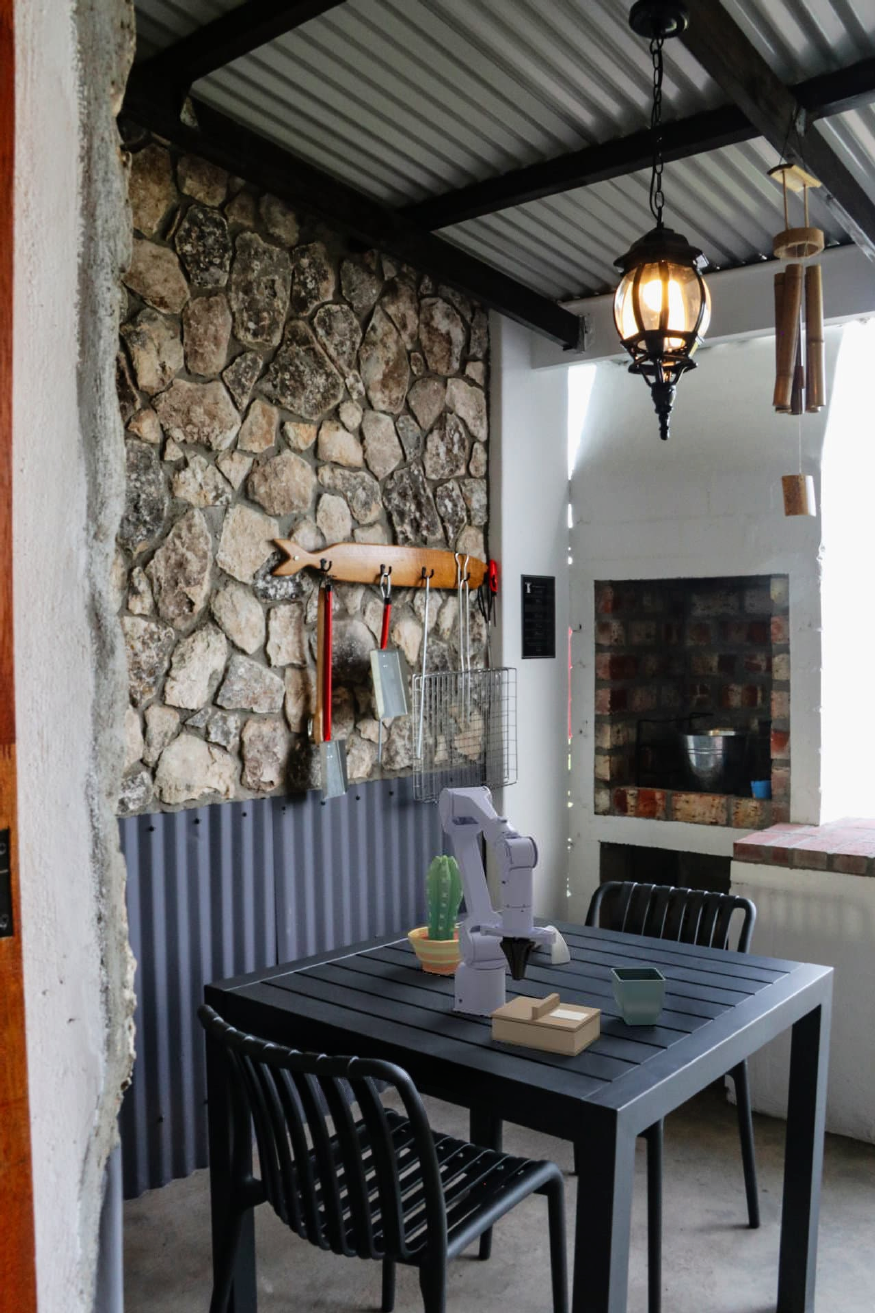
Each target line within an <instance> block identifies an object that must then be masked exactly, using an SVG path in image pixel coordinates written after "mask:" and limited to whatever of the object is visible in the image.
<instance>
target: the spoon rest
mask: <svg viewBox="0 0 875 1313" xmlns="http://www.w3.org/2000/svg"><path fill="white" fill-rule="evenodd" d="M535 927H536V928H540V929H544V930H548V931H553V932H556V943H554V944H552V945H550V950H551V951H550V952H551V964H552V965H559V964H566V963H569V962H571V957H570V952H569V948H568V946H567V943H566V941H565V940H564V938H563V936H562V935H561V933H560V932H559V931H558V929H557V928H556V927H555V926H553V925H547V926H546V927H540V926H535ZM541 944H542V942H536V944H535V946H534V947H533V949H532V950H534V948H535V949H537V947H539V945H541Z"/></svg>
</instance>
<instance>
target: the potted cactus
mask: <svg viewBox="0 0 875 1313" xmlns="http://www.w3.org/2000/svg"><path fill="white" fill-rule="evenodd" d="M425 889H426V890H425V891H426V894H425V895H426V898H427V903H428V918H427V919H428V921H427V926H423V927H419V928H415V929H412V930H411V931H409V932H408V933H407V939H408V941H409V943H410V944H411V945H412V946H413V949H414V952H415V954H416V957H417V958H418V959H419V961H420V962H421V964H422V965H423V966H422V969H424V970H425V971H427V972H432V973H439V974H452V973H453V974H454V973H456V970H457V967H458V965H459V964H460V963H461V962H463V961H462V959H461V957H460V954H459V949H458V942H459V941H458V928H459V926H460V925H459V926H457V925H456V923H457V918H458V913H459V912H458V911H459V908H460V905H461V902H462V901H463V900H462V899H463V898H464V893H463V889H462V884H461V879H460V875H459V870H458V865H457V860H456V858H455V857H454V856H452V855H451V856H449V857H448V856H447V855H445V854H444V855H442V856H438V855H436V856H435V857H434V859H433V860H432V862H431V863H430V864H429V866H428V868H427V870H426V872H425ZM454 975H455V974H454Z"/></svg>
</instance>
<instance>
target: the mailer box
mask: <svg viewBox="0 0 875 1313" xmlns="http://www.w3.org/2000/svg"><path fill="white" fill-rule="evenodd" d="M491 1019H492V1020H491V1021H492V1022H491V1024H492V1025H491V1026H492V1027H491V1028H492V1030H491V1032H492V1034H491V1036H492V1037H491V1038H492V1040H493V1039H496V1040H500V1041H505V1042H507V1043H506V1044H508V1043H513V1044H515V1045H514V1046H518V1045H521V1046H520V1047H524V1048H530V1049H533V1050H534V1049H536V1050H540V1051H544V1052H545V1051H546V1052H550V1053H555V1054H556V1053H557V1054H560V1055H561V1054H562V1055H566V1056H571V1057H576V1056H578V1054H579V1053H581V1052H583V1051H584V1050H585V1049H586V1048H588V1047H589V1046H590V1045H591V1044H594V1042H595V1041H597V1040H598V1039H599V1038H601V1033H600V1032H601V1028H600V1027H601V1023H600V1020H601V1014H599V1015H598V1016H596V1017H595V1018H593V1019H592V1020H591V1021H589V1022H588V1023H586V1024H585V1025H584V1026H582V1027H581V1028H580V1029H578V1030H577V1031H575V1032H573V1031H567V1030H562V1029H556V1028H551V1027H545V1026H539V1025H534V1024H528V1023H523V1022H517V1021H511V1020H506V1019H500V1018H495V1017H493V1018H491ZM513 1044H512V1045H513Z"/></svg>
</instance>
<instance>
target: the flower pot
mask: <svg viewBox="0 0 875 1313" xmlns="http://www.w3.org/2000/svg"><path fill="white" fill-rule="evenodd" d="M610 975H611V982H612V993H613V998H614V1001H615V1004H616V1006H617V1009H618V1011H619V1014H620V1015H621V1017H622V1019H623V1020H624V1022H625V1023H626V1025H628V1026H653V1025H655V1024H656V1022H657V1021H658V1019H659V1017H660V1016H661V1013H662V1011H663V1007H664V1001H665V994H666V987H667V979H666V978H665V977H664V976H663V975H662V974H661V973H660V971H659V970H658V969H657V968H656V967H611V968H610Z"/></svg>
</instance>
